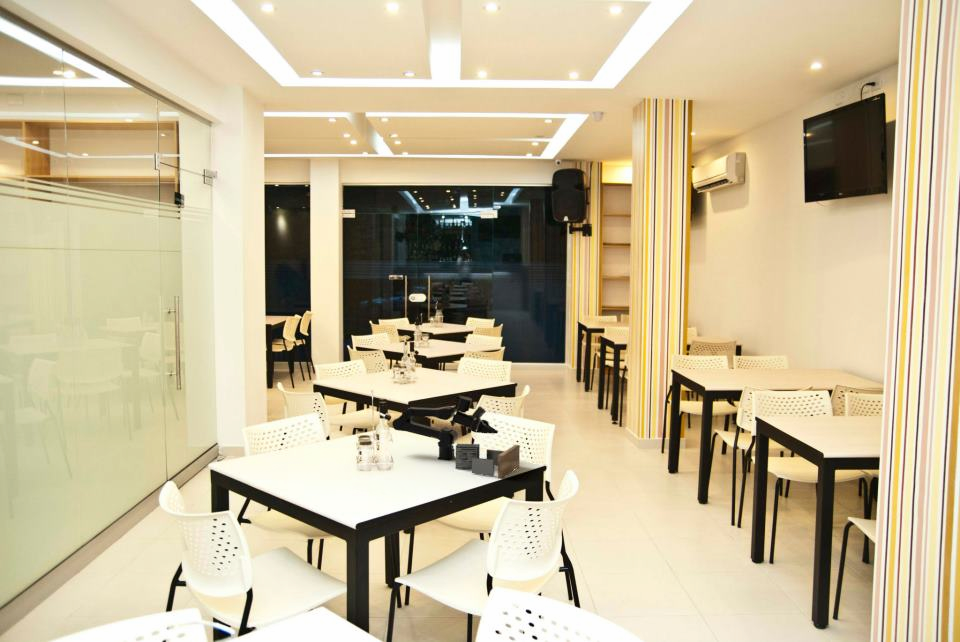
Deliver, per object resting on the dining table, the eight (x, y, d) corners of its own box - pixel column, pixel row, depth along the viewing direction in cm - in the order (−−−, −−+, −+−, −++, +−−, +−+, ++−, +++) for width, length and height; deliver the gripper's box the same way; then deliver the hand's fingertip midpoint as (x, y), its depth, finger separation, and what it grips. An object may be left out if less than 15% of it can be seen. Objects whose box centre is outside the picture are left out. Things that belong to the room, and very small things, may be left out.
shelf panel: (497, 478, 299) (498, 455, 298) (515, 466, 319) (515, 444, 319) (502, 478, 298) (502, 455, 297) (519, 466, 318) (519, 445, 318)
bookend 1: (471, 473, 305) (472, 458, 305) (472, 473, 307) (473, 457, 306) (493, 476, 302) (493, 460, 301) (494, 475, 303) (494, 459, 302)
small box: (479, 466, 319) (480, 443, 318) (478, 469, 312) (478, 446, 312) (457, 465, 320) (457, 442, 319) (455, 469, 313) (455, 446, 313)
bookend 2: (486, 464, 321) (486, 449, 321) (487, 464, 322) (487, 449, 322) (506, 467, 317) (506, 452, 317) (507, 466, 318) (507, 451, 318)
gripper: (466, 402, 320) (497, 414, 316) (476, 405, 338) (505, 416, 334) (458, 425, 319) (489, 438, 315) (468, 427, 337) (497, 438, 333)
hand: (495, 432), depth 324 cm, fingers open, 9 cm apart
